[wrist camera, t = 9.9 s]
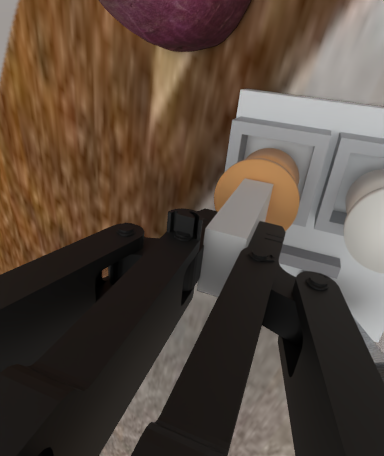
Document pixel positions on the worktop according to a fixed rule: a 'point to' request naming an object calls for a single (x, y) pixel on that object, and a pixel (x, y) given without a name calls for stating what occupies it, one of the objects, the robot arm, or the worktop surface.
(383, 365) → the lever
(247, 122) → the panel
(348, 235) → the plunger white
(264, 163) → the plunger orange
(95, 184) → the worktop surface
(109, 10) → the vegetable
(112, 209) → the worktop surface
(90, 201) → the worktop surface
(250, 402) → the worktop surface
